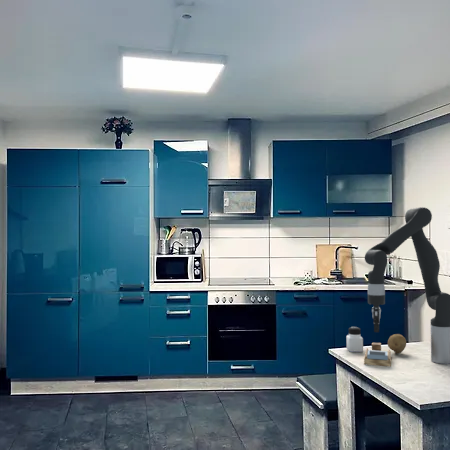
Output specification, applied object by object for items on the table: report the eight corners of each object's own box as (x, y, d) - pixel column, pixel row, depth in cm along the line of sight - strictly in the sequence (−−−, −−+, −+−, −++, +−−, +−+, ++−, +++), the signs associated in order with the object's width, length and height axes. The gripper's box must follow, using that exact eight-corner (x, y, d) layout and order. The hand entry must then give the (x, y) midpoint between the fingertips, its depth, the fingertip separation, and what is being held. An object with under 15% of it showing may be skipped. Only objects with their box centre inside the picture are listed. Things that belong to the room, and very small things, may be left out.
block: (381, 351, 253) (381, 343, 253) (381, 353, 249) (380, 344, 249) (372, 351, 255) (372, 342, 255) (371, 353, 250) (371, 344, 251)
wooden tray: (390, 356, 243) (390, 349, 243) (391, 366, 225) (390, 358, 225) (365, 354, 247) (365, 347, 247) (364, 364, 229) (364, 357, 229)
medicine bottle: (363, 351, 253) (363, 328, 253) (349, 351, 253) (349, 328, 253) (359, 348, 260) (359, 326, 260) (346, 348, 260) (346, 326, 260)
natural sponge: (396, 356, 243) (396, 336, 243) (383, 352, 251) (383, 333, 251) (410, 354, 246) (409, 334, 247) (397, 350, 255) (397, 331, 255)
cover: (387, 355, 234) (387, 348, 234) (387, 359, 226) (387, 352, 226) (368, 354, 237) (368, 346, 237) (367, 358, 229) (367, 351, 229)
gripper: (384, 295, 214) (385, 334, 214) (384, 291, 228) (385, 328, 227) (367, 295, 217) (367, 333, 216) (368, 291, 230) (368, 327, 230)
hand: (376, 331), depth 222 cm, fingers open, 3 cm apart
